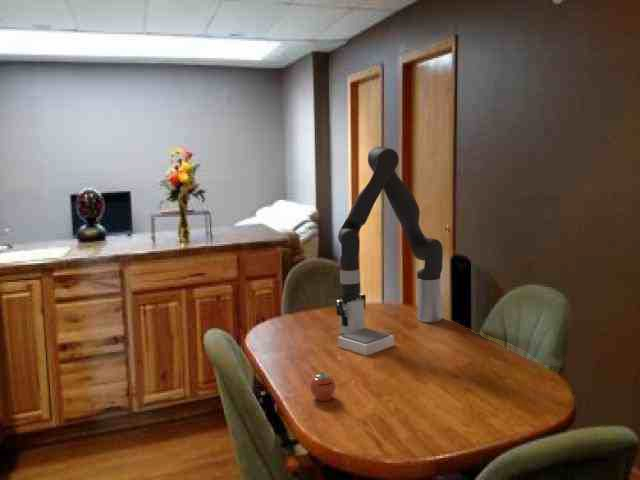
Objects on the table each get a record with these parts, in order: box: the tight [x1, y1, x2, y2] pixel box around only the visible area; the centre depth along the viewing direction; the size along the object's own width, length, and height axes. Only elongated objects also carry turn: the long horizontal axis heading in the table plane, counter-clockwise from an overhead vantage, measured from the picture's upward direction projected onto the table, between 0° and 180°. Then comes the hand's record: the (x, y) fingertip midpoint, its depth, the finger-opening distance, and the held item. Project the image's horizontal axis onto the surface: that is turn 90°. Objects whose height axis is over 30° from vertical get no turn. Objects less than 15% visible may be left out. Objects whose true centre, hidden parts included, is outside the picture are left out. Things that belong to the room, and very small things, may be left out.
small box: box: [338, 298, 366, 335], centre depth 218 cm, size 8×6×13 cm
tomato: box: [309, 370, 337, 402], centre depth 161 cm, size 7×7×8 cm
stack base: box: [337, 327, 395, 356], centre depth 204 cm, size 14×14×4 cm
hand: (351, 323), depth 219 cm, fingers closed on small box, 6 cm apart
